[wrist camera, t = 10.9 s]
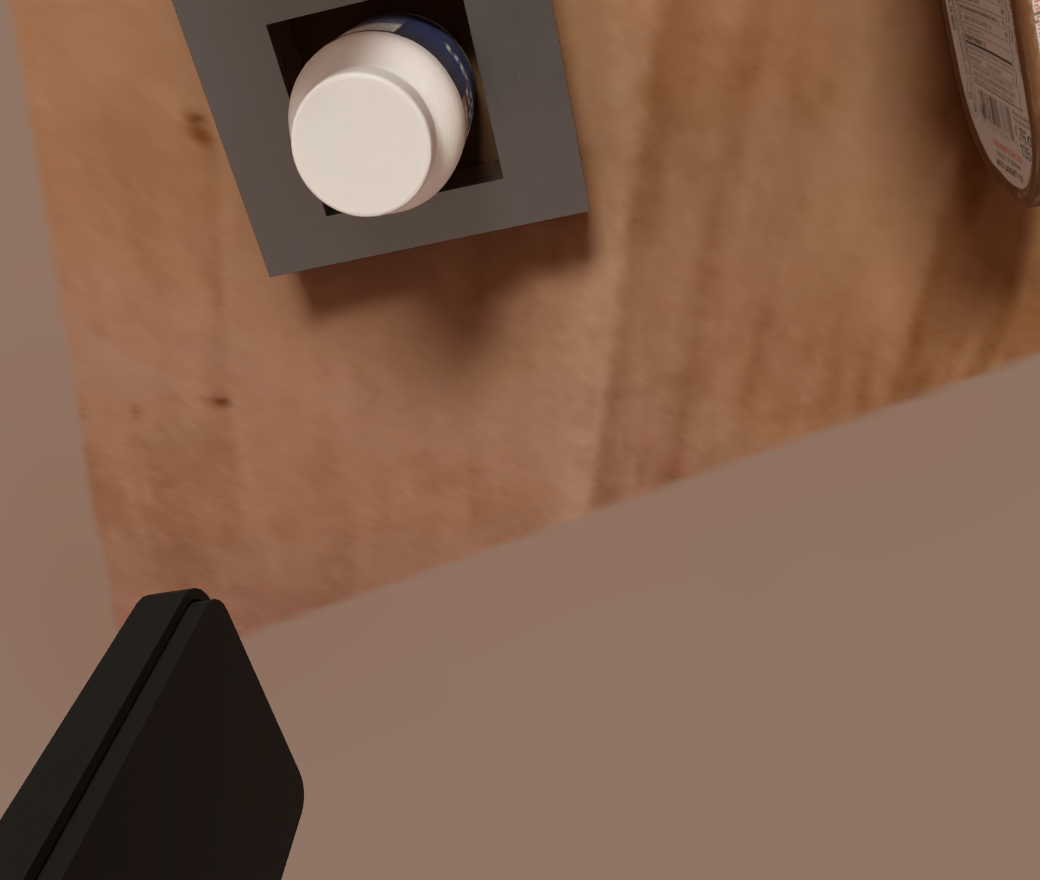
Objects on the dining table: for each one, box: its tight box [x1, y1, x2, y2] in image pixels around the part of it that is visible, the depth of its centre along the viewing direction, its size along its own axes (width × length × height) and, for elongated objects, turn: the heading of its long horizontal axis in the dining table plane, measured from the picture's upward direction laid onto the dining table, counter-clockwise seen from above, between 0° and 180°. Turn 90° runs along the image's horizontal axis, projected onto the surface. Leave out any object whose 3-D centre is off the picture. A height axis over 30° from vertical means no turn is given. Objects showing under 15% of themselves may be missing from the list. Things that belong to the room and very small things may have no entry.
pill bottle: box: [288, 12, 476, 217], centre depth 32 cm, size 5×5×10 cm
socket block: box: [172, 0, 590, 277], centre depth 35 cm, size 12×10×3 cm
